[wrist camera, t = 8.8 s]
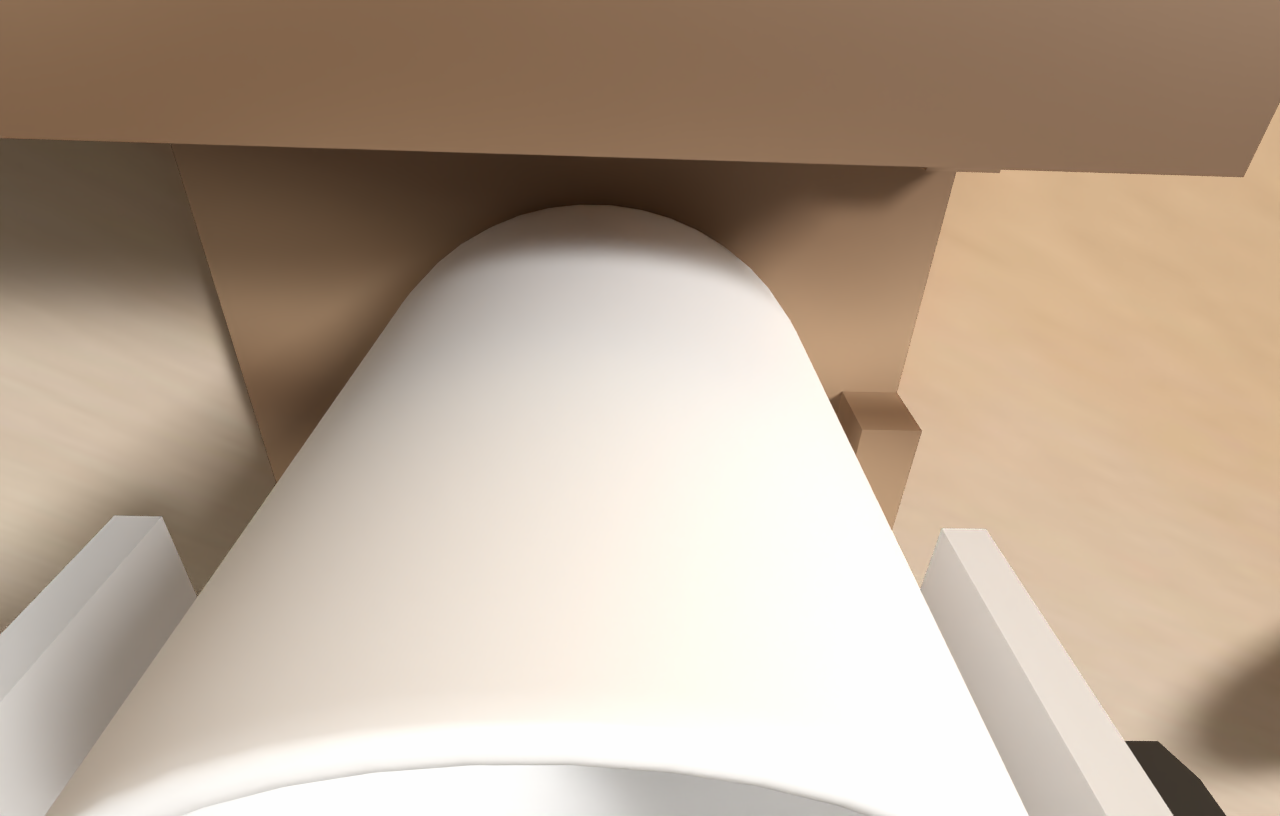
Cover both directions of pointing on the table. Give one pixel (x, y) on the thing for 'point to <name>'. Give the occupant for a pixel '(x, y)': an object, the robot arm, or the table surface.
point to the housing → (624, 145)
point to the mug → (562, 574)
